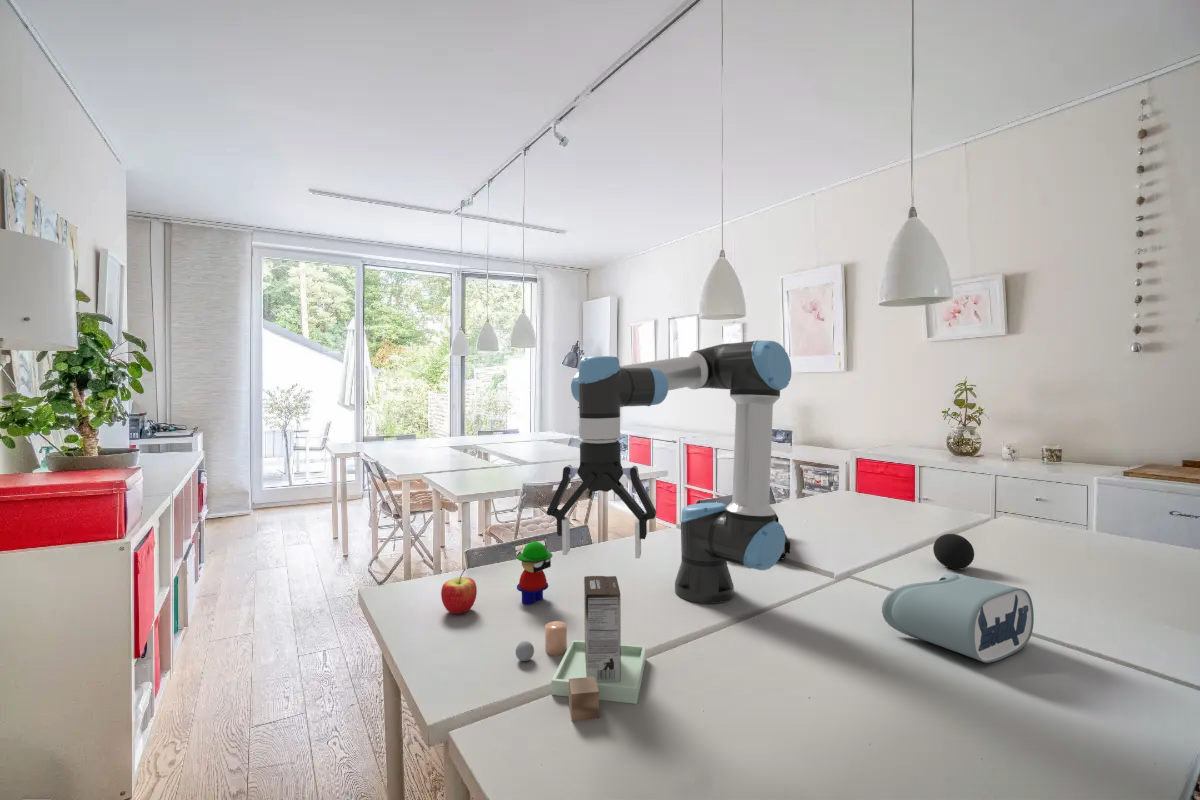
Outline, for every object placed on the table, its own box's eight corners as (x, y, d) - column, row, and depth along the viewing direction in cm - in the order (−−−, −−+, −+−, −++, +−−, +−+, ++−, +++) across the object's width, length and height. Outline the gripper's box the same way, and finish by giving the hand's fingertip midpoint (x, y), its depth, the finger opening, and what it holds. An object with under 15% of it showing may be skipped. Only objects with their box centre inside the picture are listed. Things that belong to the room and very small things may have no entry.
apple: (484, 610, 128) (483, 569, 128) (453, 622, 122) (452, 579, 121) (465, 601, 133) (464, 562, 133) (434, 612, 127) (433, 570, 127)
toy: (543, 591, 140) (542, 535, 139) (559, 602, 132) (558, 542, 132) (511, 599, 135) (510, 540, 134) (526, 611, 128) (525, 549, 127)
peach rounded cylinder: (569, 645, 110) (568, 622, 110) (563, 656, 106) (563, 631, 106) (548, 644, 111) (548, 620, 111) (542, 654, 107) (542, 630, 107)
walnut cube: (594, 702, 91) (594, 676, 90) (599, 718, 86) (599, 691, 86) (568, 705, 90) (568, 678, 90) (571, 721, 85) (571, 694, 85)
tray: (645, 659, 105) (645, 646, 105) (636, 703, 90) (636, 688, 90) (572, 652, 107) (572, 639, 107) (551, 694, 93) (551, 680, 93)
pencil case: (975, 673, 98) (972, 604, 98) (880, 636, 115) (878, 577, 115) (1035, 646, 108) (1032, 583, 109) (939, 615, 125) (937, 561, 125)
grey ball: (536, 656, 106) (536, 638, 106) (530, 665, 102) (530, 647, 102) (519, 654, 107) (519, 637, 107) (513, 663, 103) (512, 645, 103)
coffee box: (584, 657, 103) (583, 575, 103) (617, 656, 103) (617, 574, 103) (585, 683, 94) (584, 593, 93) (621, 682, 94) (621, 592, 94)
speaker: (973, 566, 157) (973, 532, 157) (975, 576, 148) (975, 541, 148) (933, 560, 162) (933, 528, 162) (933, 570, 154) (933, 536, 153)
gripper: (669, 438, 99) (670, 550, 100) (541, 438, 104) (543, 545, 104) (666, 443, 92) (668, 564, 92) (528, 442, 96) (531, 557, 97)
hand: (601, 554), depth 98 cm, fingers open, 13 cm apart
